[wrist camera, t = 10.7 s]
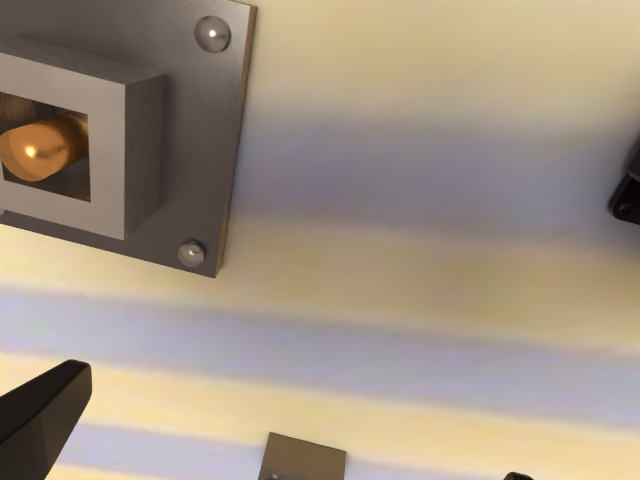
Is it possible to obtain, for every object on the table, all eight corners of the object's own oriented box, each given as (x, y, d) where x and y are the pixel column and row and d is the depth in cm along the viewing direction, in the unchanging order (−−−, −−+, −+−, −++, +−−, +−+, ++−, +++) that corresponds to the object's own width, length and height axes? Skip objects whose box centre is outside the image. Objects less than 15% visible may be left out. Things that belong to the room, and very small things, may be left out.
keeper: (256, 6, 16) (212, 4, 12) (221, 267, 22) (182, 331, 18) (-54, -75, 16) (-215, -107, 12) (-8, 209, 22) (-104, 258, 17)
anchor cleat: (345, 451, 27) (342, 495, 25) (334, 479, 29) (330, 522, 26) (269, 432, 27) (259, 474, 25) (262, 460, 29) (252, 502, 26)
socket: (164, 73, 17) (124, 85, 14) (157, 209, 20) (123, 240, 17) (14, 34, 17) (-54, 38, 14) (29, 176, 20) (-24, 201, 17)
